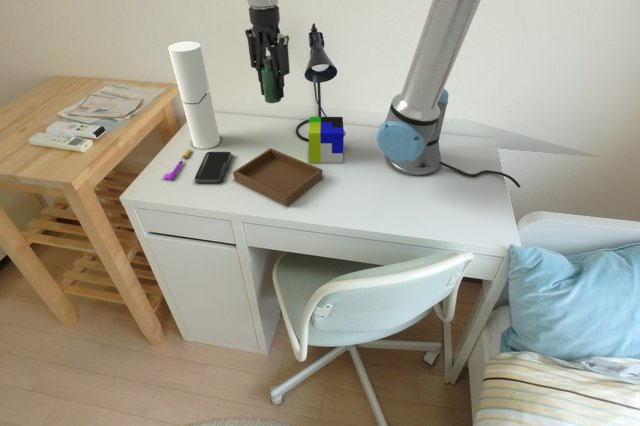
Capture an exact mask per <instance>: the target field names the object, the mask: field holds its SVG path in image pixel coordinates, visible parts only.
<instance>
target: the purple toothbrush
mask: <svg viewBox="0 0 640 426" xmlns="http://www.w3.org/2000/svg"><path fill="white" fill-rule="evenodd" d="M191 150H192V149H191V148H189V149H187V150H186V152H185V153H184V154H183V155H182V159H181V160H179V161H178V163H177V164H176V166H175V167H174V169H173V170H172V172H169V173H167V174H166V175H165V176H164V177H163V179H164V180H169V181H172V180H173V179H174V178H175V176H176V174H177V173H178V171H179V170H180V168H181V167H182V166H183V163H184V160H186V159H187V158H188V157H189V155H190V153H191Z"/></svg>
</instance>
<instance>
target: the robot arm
mask: <svg viewBox="0 0 640 426" xmlns="http://www.w3.org/2000/svg"><path fill="white" fill-rule="evenodd" d="M481 1H482V0H432V1H431V4H430V7H429V10H428V13H427V16H426V18H425V22H424V25H423V28H422V30H421V34H420V37H419V40H418V43H417V46H416V49H415V52H414V54H413V57H412V61H411V64H410V66H409V70H408V72H407V76H406V78H405V81H404V85H403V87H402V90H401V92H400V93H398V94H396V95H394V97H392V99H391V103H390V106H389V109H388V112H387V115H386V118H385V120H384V122H383V123H382V124H380V126H379V128H378V131H377V133H376V143H377V146H378V148H379V149H380V151H381V152H382V154H383V155H384V156H386V157H387V160H388V163H389V165H390V166H391V168H393V169H394V170H395V171H397V172H399V173H402V174H405V175H408V176H409V175H410V176H418V177H419V176H427V175H431V174H433V173H435V172H437V170H439V168H440V166H444V167H447V168H449V169H450V170H453V171H455V172H457V173H459V174H462V175H463V176H466V177H473V178H474V177H478V176H481V175H484V174H494V175H499V176H502V177H505V178H507V179H509V180H510V181H512V183H514V184H515V186H516V187H517V188H518V189H519V188H521V185H520V183H519V182H518V181H517V180H516V179H515V178H513V176H510V174H507V173H504V172H500V171H496V170H488V169H486V170H481V171H480V172H477V173H467V172H465V171H463V170H460V169H459V168H457V167H455V166H452V165H450V164H447V163H445V162H442V161H441V160H442V159H441V157H442V156H441V150H440V142H439V140H440V136H441V132H442V128H443V124H444V120H445V116H446V111H447V107H448V104H449V96H450V95H449V91H448V90H447V89H445V86H446V85H447V82H448V79H449V77H450V74H451V72H452V70H453V67H454V65H455V63H456V60H457V58H458V56H459V53H460V52H461V48H462V46H463V44H464V42H465V38H466V37H467V34H468V32H469V30H470V27H471V24H472V23H473V20H474V18H475V15H476V12H477V10H478V8H479V6H480V3H481ZM278 4H279V0H247V5H248V6H249V8H248V15H249V22H250V24H251V25H252V27H251V28H248V29H245V31H244V33H245V36H246V39H247V44H248V45H247V46H248V53H249V61H250V66H251V68H252V69H255V70H256V72H257V79H258V82H259V84H260V85H259V87H260V93H261V95H262V96H264V89H263V81H262V72H261V68H263V67H265V66H264V63H263V57H264V56H267V51H268V52H269V55H271V59H272V63H273V67H274V71H275V74H276V75H275V76H274V87H275V97H276V100H279V99H281V100H282V99H283V98H284V97H285V93H284V88H285V76H286V75H289V74H290V72H291V71H290V56H289V41H290V36H289V35H287V34H286V35H284V34H283V33H281V30H280V28H279V24H280V21H281V16H280V7H279V6H278Z"/></svg>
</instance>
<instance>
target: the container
mask: <svg viewBox="0 0 640 426" xmlns="http://www.w3.org/2000/svg"><path fill="white" fill-rule="evenodd" d="M167 50H168V53H169V57H170V61H171V65H172V69H173V72H174V77H175V80H176V84H177V88H178V92H179V97H180V99H181V103H182V106H183V110H184V115H185V117H186V122H187V125H188V130H189V134H190V137H191V141H192V145H193V146H194V147H195V148H197V149H202V150H205V149H206V150H207V149H211V148H214V147H216V146H218V145H219V144H220V143H221V139H220V134H219V133H220V132H219V129H218V125H217V120H216V115H215V110H214V105H213V100H212V94H211V90H210V85H209V80H208V76H207V71H206V66H205V61H204V57H203V52H202V46H201V44H200V42H197V41H178V42H175V43H172V44H170V45H169V46H168V47H167Z"/></svg>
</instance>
